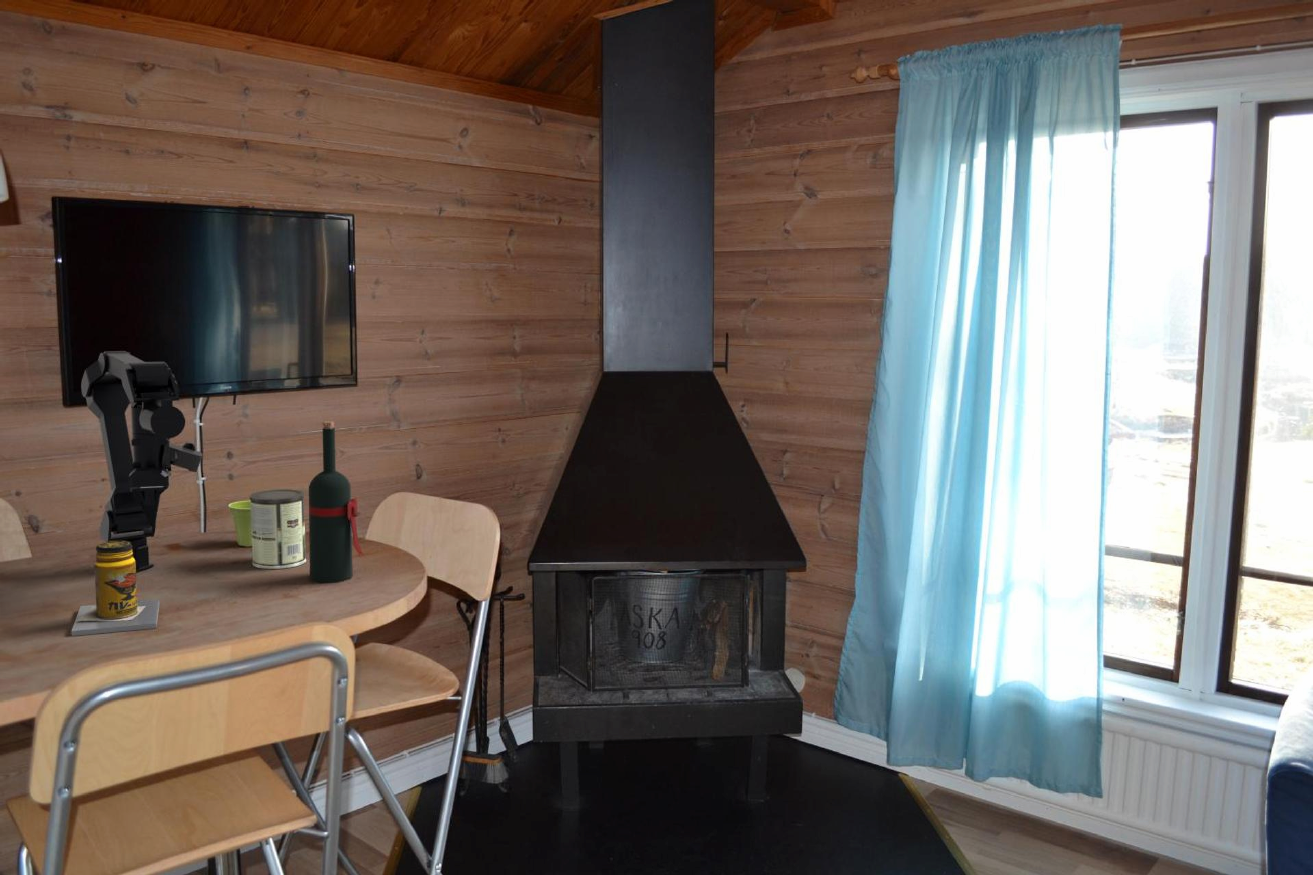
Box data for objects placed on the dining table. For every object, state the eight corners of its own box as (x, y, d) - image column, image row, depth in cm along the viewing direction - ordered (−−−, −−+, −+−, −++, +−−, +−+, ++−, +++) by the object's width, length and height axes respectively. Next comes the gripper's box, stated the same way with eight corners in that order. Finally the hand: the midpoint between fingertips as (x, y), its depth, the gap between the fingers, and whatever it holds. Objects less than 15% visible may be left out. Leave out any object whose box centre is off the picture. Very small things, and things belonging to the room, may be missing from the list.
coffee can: (269, 554, 217) (267, 487, 215) (315, 558, 215) (314, 490, 213) (241, 567, 207) (238, 497, 205) (289, 571, 205) (287, 500, 203)
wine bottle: (354, 584, 197) (351, 425, 193) (302, 581, 198) (298, 423, 194) (370, 573, 204) (368, 420, 200) (320, 570, 206) (317, 418, 202)
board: (81, 610, 178) (80, 605, 177) (159, 603, 182) (159, 599, 182) (71, 635, 165) (71, 631, 165) (156, 627, 170) (156, 623, 169)
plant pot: (248, 537, 232) (247, 498, 231) (285, 541, 229) (284, 501, 228) (219, 546, 223) (218, 506, 222) (257, 550, 220) (256, 510, 219)
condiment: (132, 620, 170) (128, 548, 169) (76, 622, 169) (72, 549, 167) (146, 607, 178) (143, 538, 176) (92, 608, 176) (89, 538, 175)
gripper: (198, 437, 183) (201, 525, 185) (198, 424, 200) (201, 505, 202) (127, 439, 178) (131, 529, 181) (133, 426, 195) (137, 508, 198)
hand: (153, 517), depth 190 cm, fingers open, 9 cm apart
